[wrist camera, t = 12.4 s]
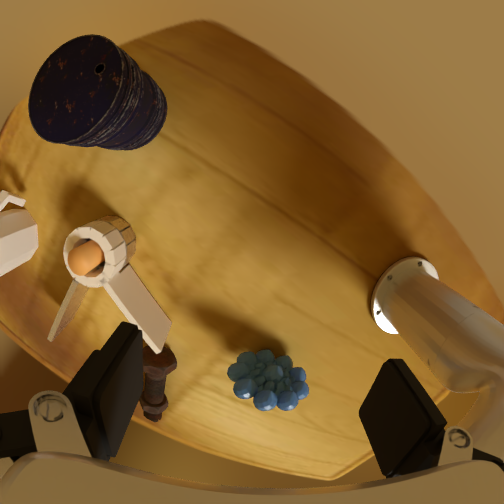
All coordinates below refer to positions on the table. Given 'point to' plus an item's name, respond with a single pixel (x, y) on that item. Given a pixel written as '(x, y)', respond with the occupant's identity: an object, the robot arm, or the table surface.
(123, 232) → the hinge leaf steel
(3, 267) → the mug
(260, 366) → the grapes
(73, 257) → the hinge pin
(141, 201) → the table surface
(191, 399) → the table surface
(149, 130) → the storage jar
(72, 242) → the hinge leaf cream
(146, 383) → the bolt
